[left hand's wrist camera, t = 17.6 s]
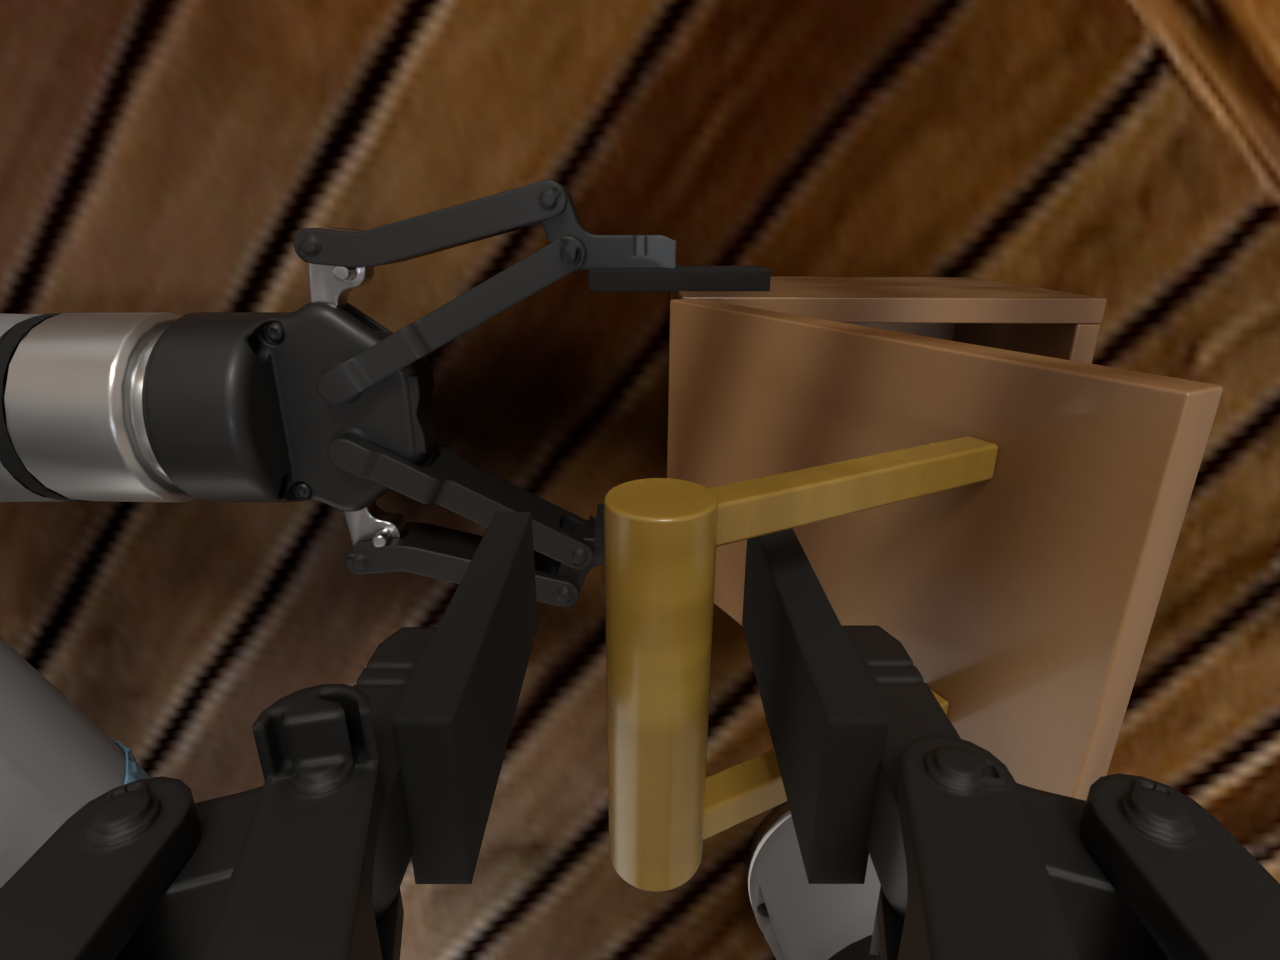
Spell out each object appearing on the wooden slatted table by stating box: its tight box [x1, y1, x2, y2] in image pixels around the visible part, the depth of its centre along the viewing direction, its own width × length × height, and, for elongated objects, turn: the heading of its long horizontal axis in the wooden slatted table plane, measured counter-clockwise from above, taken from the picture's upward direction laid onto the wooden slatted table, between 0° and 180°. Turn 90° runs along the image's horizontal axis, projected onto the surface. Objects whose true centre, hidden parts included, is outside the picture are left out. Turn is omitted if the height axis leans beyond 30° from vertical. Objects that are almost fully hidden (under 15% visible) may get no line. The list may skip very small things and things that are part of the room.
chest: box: [667, 277, 1107, 455], centre depth 29 cm, size 14×9×10 cm
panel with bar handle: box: [604, 298, 1223, 892], centre depth 16 cm, size 15×9×9 cm
